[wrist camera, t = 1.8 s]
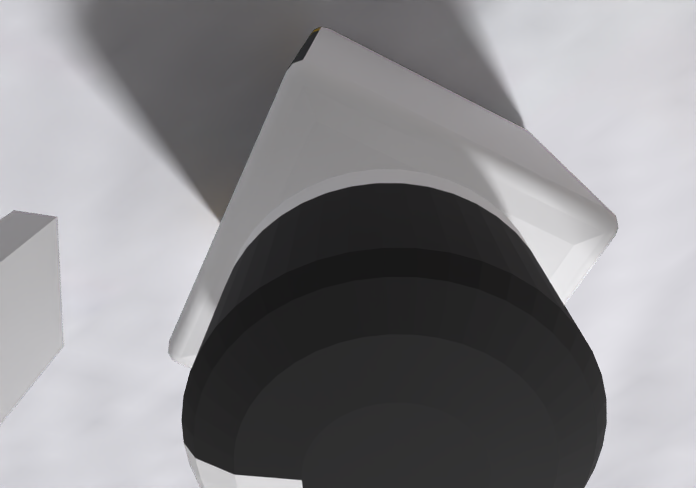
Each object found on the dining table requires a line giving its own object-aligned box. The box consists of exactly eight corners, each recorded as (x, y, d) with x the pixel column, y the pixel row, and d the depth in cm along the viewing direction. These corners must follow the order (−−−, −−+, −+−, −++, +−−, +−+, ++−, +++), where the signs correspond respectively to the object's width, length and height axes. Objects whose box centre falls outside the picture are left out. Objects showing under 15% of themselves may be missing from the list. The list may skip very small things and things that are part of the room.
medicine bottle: (316, 20, 17) (248, 119, 6) (535, 132, 18) (796, 378, 7) (223, 233, 20) (60, 562, 9) (419, 318, 21) (487, 700, 10)
